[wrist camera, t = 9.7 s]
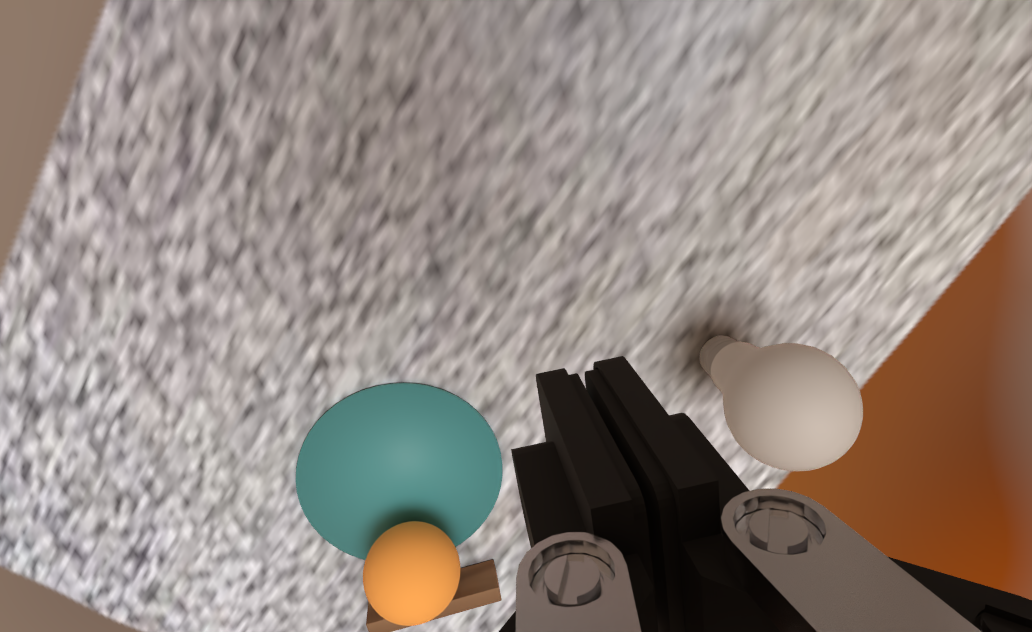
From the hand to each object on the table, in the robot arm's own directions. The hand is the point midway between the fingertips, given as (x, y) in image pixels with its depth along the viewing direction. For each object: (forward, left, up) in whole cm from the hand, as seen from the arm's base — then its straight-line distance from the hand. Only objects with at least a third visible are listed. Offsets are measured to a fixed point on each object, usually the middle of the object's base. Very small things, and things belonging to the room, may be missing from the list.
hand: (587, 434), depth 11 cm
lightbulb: (+10, +13, -22) cm, 27 cm away
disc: (+13, -7, -22) cm, 26 cm away
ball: (+17, -8, -19) cm, 27 cm away
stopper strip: (+21, -7, -22) cm, 31 cm away
